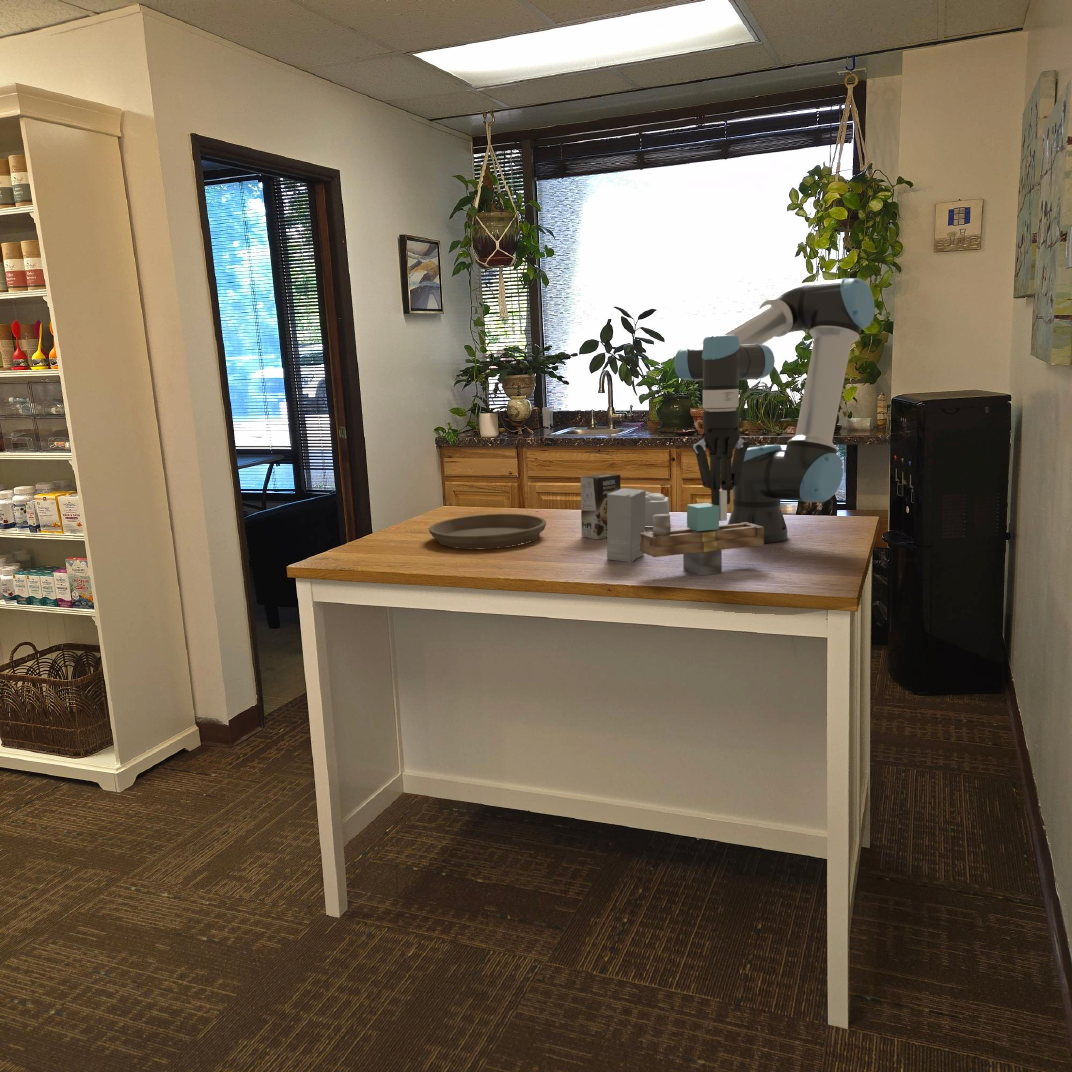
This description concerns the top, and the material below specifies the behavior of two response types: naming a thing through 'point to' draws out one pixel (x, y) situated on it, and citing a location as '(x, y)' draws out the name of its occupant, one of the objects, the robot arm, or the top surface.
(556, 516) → the top surface
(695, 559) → the beam
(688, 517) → the block
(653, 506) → the lumpy-topped squat cylinder
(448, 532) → the plant saucer
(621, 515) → the skincare box
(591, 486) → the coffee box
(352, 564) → the top surface
